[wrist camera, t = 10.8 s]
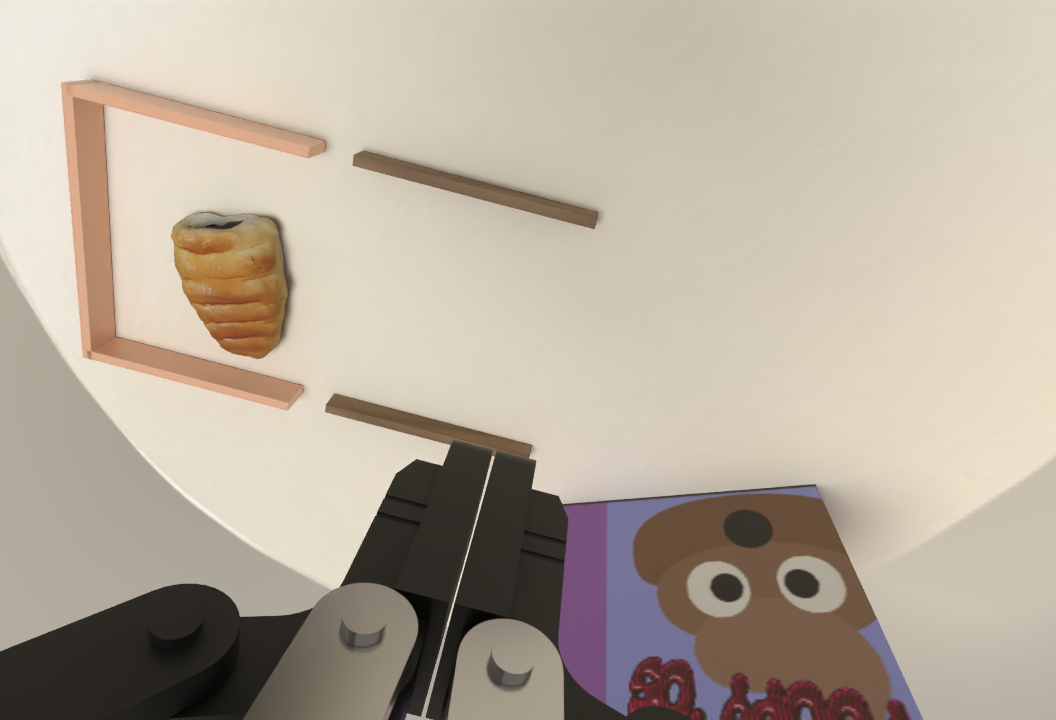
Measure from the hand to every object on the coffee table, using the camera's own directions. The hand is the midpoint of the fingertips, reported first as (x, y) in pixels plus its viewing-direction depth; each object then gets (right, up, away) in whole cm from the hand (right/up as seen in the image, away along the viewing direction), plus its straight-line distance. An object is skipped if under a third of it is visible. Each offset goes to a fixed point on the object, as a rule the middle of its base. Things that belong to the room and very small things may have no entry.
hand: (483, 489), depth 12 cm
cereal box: (+12, -9, +36) cm, 39 cm away
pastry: (-17, +8, +31) cm, 37 cm away
